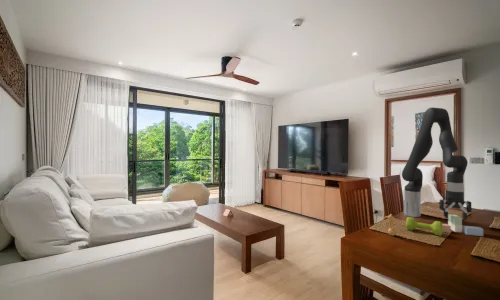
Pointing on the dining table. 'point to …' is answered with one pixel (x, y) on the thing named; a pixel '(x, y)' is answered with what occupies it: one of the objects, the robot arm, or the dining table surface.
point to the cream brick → (455, 227)
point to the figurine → (390, 230)
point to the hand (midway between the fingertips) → (455, 218)
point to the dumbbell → (424, 226)
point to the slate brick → (473, 230)
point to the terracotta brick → (446, 228)
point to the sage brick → (455, 219)
